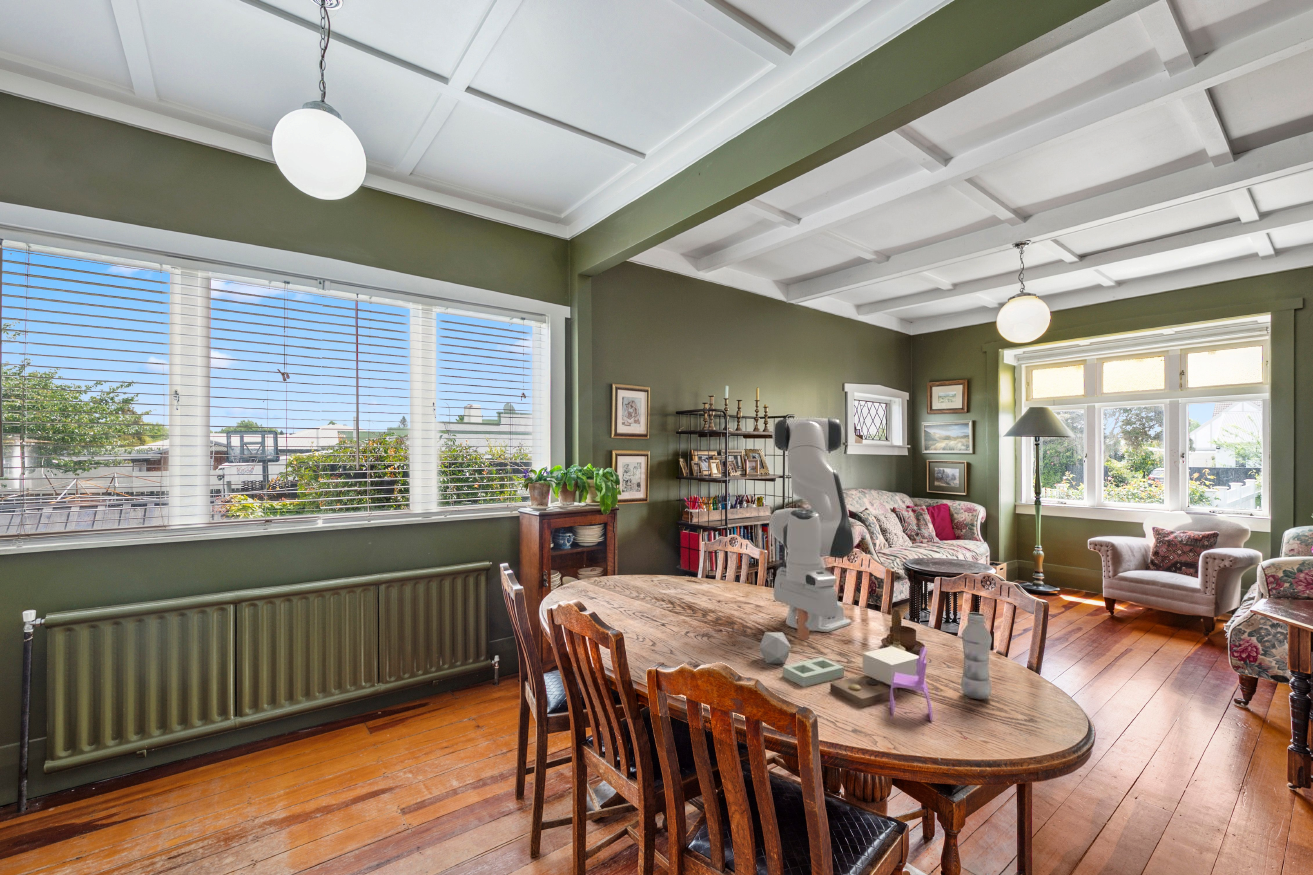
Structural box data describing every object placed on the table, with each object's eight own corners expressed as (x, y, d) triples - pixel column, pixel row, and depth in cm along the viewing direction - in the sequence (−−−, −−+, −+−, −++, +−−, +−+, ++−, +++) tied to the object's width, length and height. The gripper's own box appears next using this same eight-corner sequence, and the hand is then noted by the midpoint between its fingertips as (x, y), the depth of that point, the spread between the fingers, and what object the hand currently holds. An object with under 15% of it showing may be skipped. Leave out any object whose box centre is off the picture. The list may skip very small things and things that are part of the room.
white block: (891, 665, 155) (892, 646, 155) (921, 677, 147) (921, 657, 147) (862, 672, 149) (862, 653, 150) (892, 685, 142) (892, 664, 142)
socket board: (821, 666, 161) (821, 657, 161) (844, 676, 154) (844, 667, 154) (782, 675, 154) (782, 666, 154) (803, 687, 147) (803, 677, 147)
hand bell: (875, 667, 161) (876, 609, 161) (887, 659, 167) (888, 603, 167) (906, 675, 155) (907, 615, 155) (917, 667, 161) (918, 609, 161)
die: (783, 672, 158) (799, 640, 161) (755, 654, 160) (772, 623, 163) (777, 672, 166) (792, 641, 169) (750, 655, 168) (766, 625, 171)
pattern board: (864, 682, 151) (864, 672, 151) (897, 697, 142) (897, 687, 142) (830, 691, 145) (830, 681, 145) (862, 707, 136) (862, 697, 136)
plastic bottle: (954, 694, 144) (954, 612, 144) (974, 689, 146) (974, 609, 147) (978, 705, 138) (978, 619, 138) (998, 700, 140) (998, 616, 141)
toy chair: (891, 701, 139) (891, 638, 139) (932, 709, 136) (932, 644, 136) (889, 716, 132) (889, 649, 132) (932, 724, 128) (932, 655, 128)
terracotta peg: (803, 635, 154) (803, 605, 155) (811, 639, 152) (811, 608, 152) (794, 637, 153) (795, 606, 153) (803, 640, 150) (803, 609, 150)
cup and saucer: (913, 660, 167) (913, 638, 167) (873, 648, 176) (873, 628, 176) (931, 650, 175) (932, 630, 175) (893, 640, 184) (893, 620, 184)
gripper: (768, 566, 160) (768, 617, 160) (823, 582, 142) (822, 639, 142) (786, 564, 163) (785, 614, 163) (841, 579, 145) (841, 635, 145)
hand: (803, 626), depth 152 cm, fingers closed on terracotta peg, 3 cm apart
